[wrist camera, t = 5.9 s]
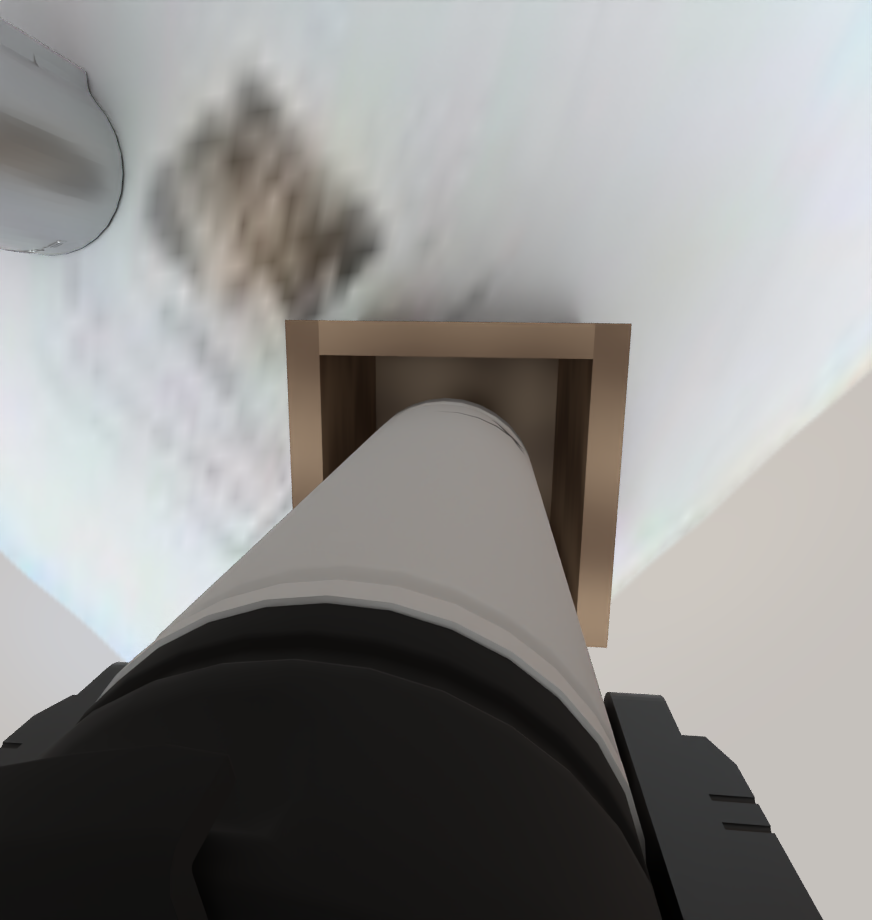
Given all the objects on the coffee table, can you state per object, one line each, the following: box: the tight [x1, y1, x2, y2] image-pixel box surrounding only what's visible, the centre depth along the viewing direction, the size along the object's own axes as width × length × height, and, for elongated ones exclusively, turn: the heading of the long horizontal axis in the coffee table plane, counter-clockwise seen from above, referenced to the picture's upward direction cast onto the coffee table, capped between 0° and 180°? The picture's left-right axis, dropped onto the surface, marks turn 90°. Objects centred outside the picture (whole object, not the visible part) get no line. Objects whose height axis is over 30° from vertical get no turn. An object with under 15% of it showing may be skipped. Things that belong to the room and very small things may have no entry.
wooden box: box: [285, 320, 631, 648], centre depth 29 cm, size 12×12×12 cm
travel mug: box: [0, 398, 662, 920], centre depth 13 cm, size 6×7×20 cm
